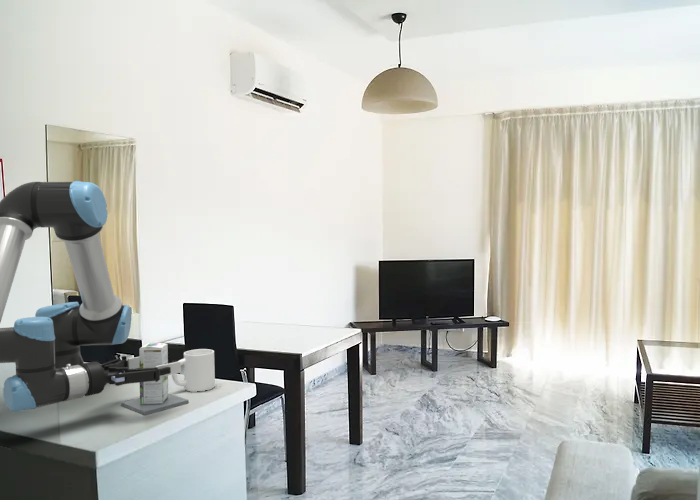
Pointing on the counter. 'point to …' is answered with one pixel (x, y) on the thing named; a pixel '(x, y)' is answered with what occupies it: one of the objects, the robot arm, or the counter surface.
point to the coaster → (151, 408)
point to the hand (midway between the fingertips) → (165, 363)
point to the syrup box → (149, 359)
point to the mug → (197, 370)
